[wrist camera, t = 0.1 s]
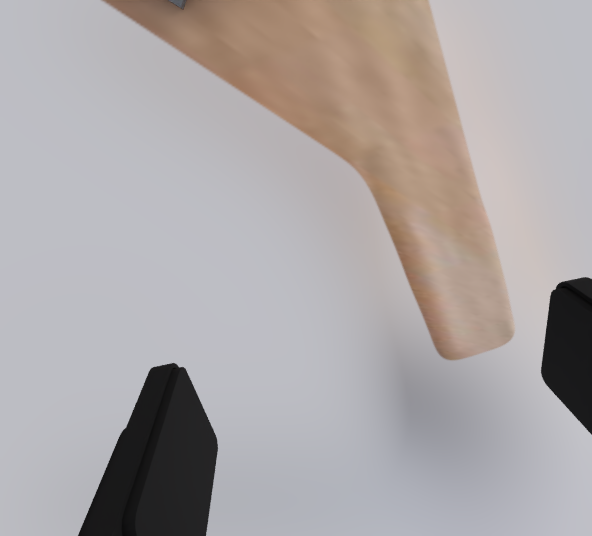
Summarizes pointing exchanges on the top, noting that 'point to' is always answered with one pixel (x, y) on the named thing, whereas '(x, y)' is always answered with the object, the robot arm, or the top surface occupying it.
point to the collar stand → (179, 3)
